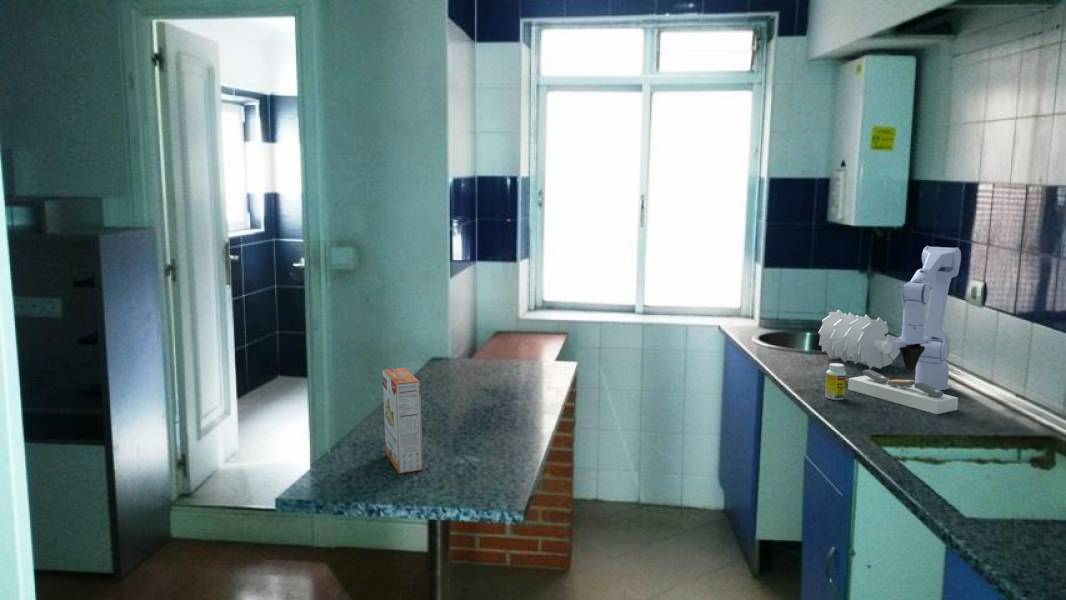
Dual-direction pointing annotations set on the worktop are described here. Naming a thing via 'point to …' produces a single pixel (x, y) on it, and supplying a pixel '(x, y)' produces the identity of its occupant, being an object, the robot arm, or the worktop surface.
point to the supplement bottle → (835, 382)
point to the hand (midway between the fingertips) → (910, 369)
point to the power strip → (903, 395)
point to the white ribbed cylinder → (857, 339)
